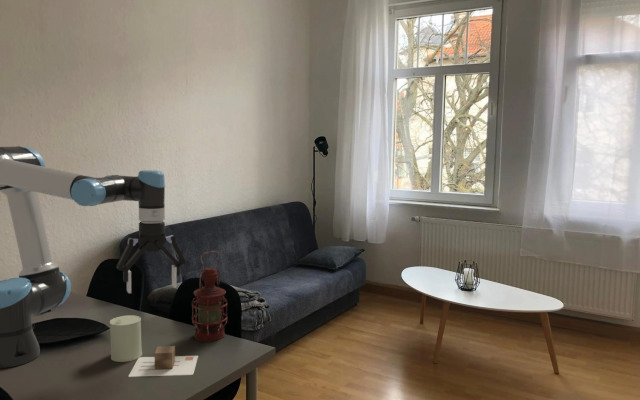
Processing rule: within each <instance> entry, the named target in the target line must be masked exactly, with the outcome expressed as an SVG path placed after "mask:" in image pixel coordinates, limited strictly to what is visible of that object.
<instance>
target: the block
mask: <svg viewBox="0 0 640 400" xmlns="http://www.w3.org/2000/svg"><path fill="white" fill-rule="evenodd" d="M175 356H176V345H164V346H163V345H161V346H160V345H158V346H157V348H156V350H155V352H154V357H155V370H156V369H172V368H173V366H174V363H175Z"/></svg>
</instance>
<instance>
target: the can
mask: <svg viewBox="0 0 640 400" xmlns="http://www.w3.org/2000/svg"><path fill="white" fill-rule="evenodd" d="M141 322H142V317H141V316H138V315H131V314H128V315H122V316H121V315H120V316H117V317H114V318H111V319H110V320H109V335H110V359H111V361H113V362H116V363H117V362H118V363H127V362H132V361H135V360H138V358H139V357H143V350H142V323H141Z"/></svg>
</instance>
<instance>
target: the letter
mask: <svg viewBox="0 0 640 400" xmlns="http://www.w3.org/2000/svg"><path fill="white" fill-rule="evenodd" d="M198 359H199V355H183V356H182V355H181V356H180V355H179V356H178V355H175V363H174V366H173V368H172V369H156V370H155V356H141V357H139V358H138V359H136V362H135V364H134V366H133V367H132V369H131V371H130V373H129V374H128V378H130V377H131V378H133V377H134V378H135V377H158V376H159V377H161V376H162V377H163V376H166V377H167V376H191V375H192V376H193V375H194V372H195V369H196V366H197V362H198Z"/></svg>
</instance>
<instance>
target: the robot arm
mask: <svg viewBox="0 0 640 400" xmlns="http://www.w3.org/2000/svg"><path fill="white" fill-rule="evenodd" d="M137 174H138V175H137V176H133V175H132V176H131V175H119V174H110V175H106V176H102V177H93V176H89V175H83V174H78V173H73V172H70V171H65V170H60V169H55V168H51V167H46V164H45V161H44V159H43V157H42V155H41V154H40V153H39V152H38V151H36V150H35V149H33V148H31V147H25V146H19V145H18V146H0V192H1V193H2V194H4V195H5V196H6V199H7V202H8V207H9V212H10V216H11V221H12V226H13V230H14V234H15V239H16V244H17V248H18V252H19V256H20V261H21V262H20V263H21V266H22V269H21V271H20V272H19V273H18V277H11V278H8V279H3V280H0V369H5V368H12V367H17V366H22V365H25V364H28V363H30V362H32V361H34V360H35V359H37V358H38V357H39V356H40V354H41V353H40V352H41V351H40V343H39V342H38V340H37V337H36V335H35V333H34V331H33V317H35V316H37V315H40V314H41V313H42V314H43V313H46V312H45V311H47V310H49V309H51V310H53V309H56V308H57V307H59V306H60V305H62V304H63V303H65V302H66V301H67V299H69V296H70V294H71V289H72V287H71V286H72V283H71V281H70V278H69V277H68V275H66V274H65V272H63V271H61V270H60V266H59V265H58V264H56V262H54V261H53V259H52V254H51V250H50V245H49V241H48V236H47V235H48V234H47V233H46V226H45V222H44V218H43V212H42V209H41V208H42V207H41V204H40V198H39V194H38V193H40V194H45V195H49V196H52V197H58V198H63V199H66V200H71V201H74V202H75V203H76V204H77V205H79V206H82V207H93V206H94V207H95V206H97V205H103V204H108V203H115V202H121V201H122V202H123V201H129V202H131V201H132V202H138V221H139V223H138V236H137V237H138V238H131V237H128V238H127V240H126V242H127V243H126V247H125V249H124V250H123V252H122V254H121V257H120V259H119V260H118V262H117V264H116V269H117V270H118V271H122V280H123V282H124V283H126V292H127V293H128V294H132V271H131V270H130V269H131V268H132V267H133V266H134V265H135V263H137V261H138V260H139V258H140V257H141V256H142V255H144V253H145V252H146V253H152V252H155V253H157V252H159V251H161V252H162V253H163V254H164V255H165V256H166V257H167V259H169V260H170V261H171V262H172V265H171V286H172V287H173V288H174V289H176V288H177V285H178V284H177V282H178V281H177V277H179V276H180V275H181V273H180V271H181V270H180V268H181V266H182V265H185V264H186V259H185V258H184V256H183V253H182V251H181V250H180V248H179V246H178V245H177V240H176V236H175V235H173V234H170V235H168V236H166V234H165V233H166V224H165V219H166V216H165V214H166V213H165V212H166V211H165V210H166V209H165V207H166V206H165V197H166V196H165V194H166V193H165V192H166V191H165V188H166V183H165V173H164V172H163V171H162V170H154V169H153V170H152V169H151V170H150V169H148V170H145V169H144V170H139V172H138V173H137ZM166 242H168V243H169V244H170V246H171V248H172V249H173V251H174V253H175V255H176V256H177V259H178V260H177V259H176V258H175V257H174V256H173V255H172V254H171V252H169V250H168V249H167V248H166V247H165V246H164V245H165V243H166ZM136 244H138V245H139V247H138V248H137V249H136V251H135V252H134V253H133V254H132V256H131V257H130V258H129V256H130V254H131V252H132V250H133V247H134V246H136ZM128 258H129V260H128ZM127 260H128V261H127ZM173 264H174V265H173Z"/></svg>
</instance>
